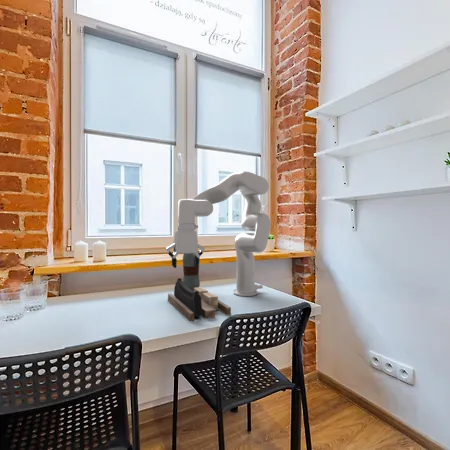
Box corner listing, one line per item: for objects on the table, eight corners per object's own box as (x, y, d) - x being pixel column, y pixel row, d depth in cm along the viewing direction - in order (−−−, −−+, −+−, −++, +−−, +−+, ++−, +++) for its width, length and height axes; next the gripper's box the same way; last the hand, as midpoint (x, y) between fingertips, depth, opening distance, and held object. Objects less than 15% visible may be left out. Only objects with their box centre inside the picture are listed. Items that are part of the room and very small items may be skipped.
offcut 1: (201, 299, 146) (201, 287, 145) (207, 303, 138) (207, 290, 138) (193, 300, 144) (193, 287, 144) (199, 304, 137) (199, 291, 136)
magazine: (205, 297, 115) (182, 264, 141) (196, 298, 114) (176, 264, 139) (200, 335, 120) (179, 296, 146) (192, 336, 119) (173, 297, 144)
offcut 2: (210, 305, 136) (210, 292, 136) (217, 310, 129) (217, 296, 128) (202, 306, 134) (202, 293, 134) (209, 311, 127) (209, 297, 127)
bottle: (192, 288, 168) (192, 234, 167) (203, 290, 161) (203, 235, 160) (178, 290, 161) (178, 235, 160) (189, 294, 155) (189, 236, 154)
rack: (201, 295, 151) (201, 290, 151) (230, 314, 122) (230, 307, 122) (168, 300, 143) (168, 293, 143) (190, 321, 115) (190, 313, 115)
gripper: (201, 227, 137) (200, 265, 137) (164, 227, 129) (163, 266, 129) (208, 228, 130) (207, 267, 130) (169, 227, 122) (168, 269, 123)
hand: (185, 266), depth 130 cm, fingers open, 9 cm apart
